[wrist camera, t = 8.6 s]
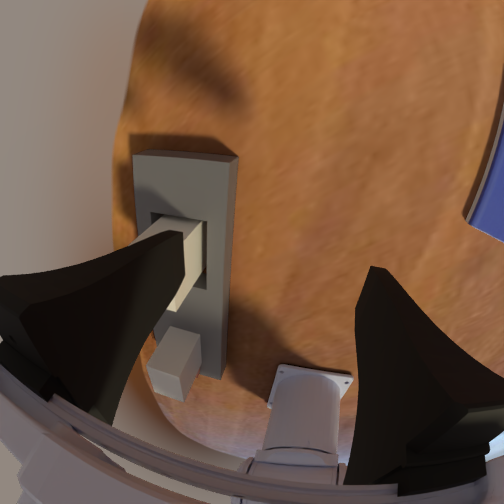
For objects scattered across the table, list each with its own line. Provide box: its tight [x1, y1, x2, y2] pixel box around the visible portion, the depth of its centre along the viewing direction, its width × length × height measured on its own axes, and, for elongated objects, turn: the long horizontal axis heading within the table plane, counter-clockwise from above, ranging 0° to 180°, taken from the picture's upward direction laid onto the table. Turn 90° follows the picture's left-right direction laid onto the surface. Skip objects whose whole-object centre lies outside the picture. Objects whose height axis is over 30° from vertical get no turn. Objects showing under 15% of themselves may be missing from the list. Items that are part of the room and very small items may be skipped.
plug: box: [128, 214, 207, 312], centre depth 19 cm, size 4×3×6 cm
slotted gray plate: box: [133, 149, 239, 402], centre depth 21 cm, size 22×7×7 cm, turn 175°
